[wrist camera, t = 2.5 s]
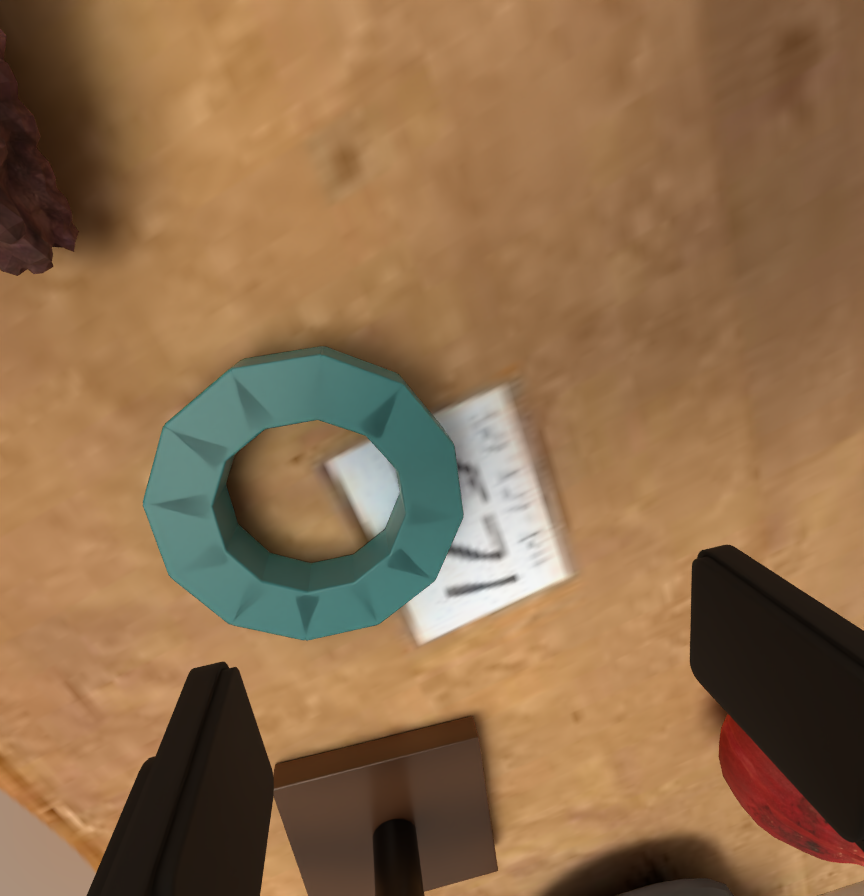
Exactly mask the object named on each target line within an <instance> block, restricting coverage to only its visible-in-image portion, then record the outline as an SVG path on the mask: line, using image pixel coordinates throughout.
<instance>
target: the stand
mask: <svg viewBox="0 0 864 896" xmlns="http://www.w3.org/2000/svg"><path fill="white" fill-rule="evenodd" d="M273 778H274V795H273V796H274V798H275V801H276V804H277V807H278V810H279V813H280V816H281V819H282V821H283V824H284V827H285V830H286V833H287V836H288V839H289V842H290V844H291V847H292V850H293V853H294V856H295V859H296V862H297V865H298V867H299V870H300V873H301V876H302V879H303V882H304V885H305V888H306V890H307V893H308V896H424V892H425V891H429V890H432V889H436V888H439V887H443V886H446V885H450V884H453V883H457V882H460V881H464V880H468V879H471V878H475V877H478V876H482V875H485V874H489V873H492V872H496V871H498V866H497V859H496V852H495V845H494V839H493V832H492V825H491V818H490V811H489V804H488V797H487V790H486V783H485V777H484V770H483V763H482V756H481V749H480V742H479V736H478V733H477V729H476V726H475V722H474V719H473V717H472V716H471V717H467V718H462V719H458V720H454V721H450V722H446V723H442V724H438V725H434V726H430V727H426V728H422V729H418V730H414V731H410V732H406V733H402V734H398V735H394V736H390V737H386V738H382V739H378V740H373V741H369V742H365V743H361V744H357V745H353V746H349V747H345V748H341V749H337V750H333V751H329V752H325V753H321V754H317V755H313V756H309V757H305V758H301V759H297V760H293V761H288V762H284V763H280V764H276V765H275V769H274V776H273Z"/></svg>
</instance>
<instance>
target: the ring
mask: <svg viewBox="0 0 864 896" xmlns="http://www.w3.org/2000/svg"><path fill="white" fill-rule="evenodd" d="M314 420H320V421H323V422H326V423H329V424H332V425H335V426H338V427H341V428H344V429H347V430H350V431H353V432H356V433H359V434H362V435H365V436H367V437H368V439H369V440H370V441H371V442H372V443H373V444H374V445H375V446H376V447H377V449H378V450H379V451H380V452H381V453H382V454H383V455H384V456H385V457H386V458H387V460H388V461H389V462H390V463H391V464H392V465H393V466H394V467H395V468H396V473H397V479H398V484H399V490H400V494H399V496H398V499H397V501H396V504H395V506H394V508H393V511H392V513H391V516H390V518H389V521H388V523H387V526H386V528H385V530H384V531H382V532H381V533H380V534H379V535H377V536H376V537H375V538H374V539H372V540H371V541H370V542H368V543H367V544H366V545H365V546H363V547H362V548H361V549H360V550H358V551H357V552H356V553H355V554H353V555H348V556H344V557H339V558H334V559H329V560H324V561H319V562H315V563H308V562H304V561H301V560H297V559H293V558H289V557H285V556H281V555H277V554H273V553H270V552H269V551H268V550H266V549H265V548H264V547H263V546H262V545H261V544H260V543H259V542H258V541H256V540H255V539H254V538H253V537H252V536H251V535H250V534H249V533H247V532H246V531H245V530H244V529H243V528H242V527H241V526H240V525H239V524H238V522H237V519H236V515H235V512H234V509H233V506H232V502H231V499H230V496H229V492H228V489H227V486H226V482H227V479H228V476H229V472H230V469H231V466H232V463H233V459H234V456H235V454H236V453H237V452H238V451H240V450H241V449H242V448H243V447H244V446H246V445H247V444H248V443H249V442H250V441H252V440H253V439H254V438H255V437H256V436H258V435H259V434H260V433H261V432H262V431H264V430H265V429H268V428H274V427H280V426H285V425H291V424H297V423H302V422H308V421H314ZM143 507H144V510H145V512H146V515H147V518H148V520H149V523H150V526H151V529H152V531H153V534H154V537H155V539H156V542H157V545H158V548H159V550H160V553H161V556H162V558H163V561H164V564H165V566H166V569H167V572H168V575H169V576H170V577H171V578H172V579H173V580H174V581H175V582H177V583H178V584H179V585H180V586H182V587H183V588H184V589H185V590H187V591H188V592H189V593H190V594H192V595H193V596H194V597H196V598H197V599H198V600H199V601H201V602H202V603H203V604H204V605H206V606H207V607H208V608H209V609H211V610H212V611H213V612H214V613H216V614H217V615H218V616H219V617H221V618H222V619H223V620H224V621H226V622H227V623H228V624H231V625H234V626H239V627H243V628H248V629H253V630H257V631H262V632H267V633H271V634H276V635H281V636H286V637H290V638H295V639H300V640H312V639H316V638H321V637H325V636H330V635H334V634H339V633H343V632H348V631H352V630H357V629H361V628H366V627H370V626H375V625H378V624H380V623H381V622H383V621H384V620H385V619H386V618H388V617H389V616H390V615H392V614H393V613H394V612H395V611H397V610H398V609H399V608H401V607H402V606H403V605H404V604H406V603H407V602H408V601H410V600H411V599H412V598H413V597H415V596H416V595H417V594H419V593H420V592H421V591H423V590H424V589H425V588H426V587H428V586H429V585H430V584H432V583H433V582H434V581H435V580H436V578H437V576H438V573H439V571H440V569H441V567H442V564H443V562H444V560H445V558H446V555H447V553H448V551H449V549H450V546H451V544H452V542H453V540H454V537H455V535H456V533H457V531H458V528H459V526H460V524H461V522H462V519H463V515H464V514H463V506H462V499H461V491H460V484H459V476H458V469H457V461H456V453H455V447H454V444H453V442H452V441H451V439H450V438H449V436H448V435H447V433H446V432H445V430H444V428H443V427H442V426H441V425H440V424H439V422H438V421H437V420H436V419H435V418H434V416H433V415H432V414H431V413H430V411H429V410H428V409H427V408H426V407H425V405H424V404H423V403H422V402H421V401H420V399H419V398H418V397H417V396H416V394H415V393H414V392H413V391H412V390H411V388H410V387H409V386H408V385H407V384H406V382H405V381H404V380H403V379H402V378H401V376H400V375H399V374H397V373H395V372H393V371H390V370H387V369H385V368H382V367H379V366H377V365H374V364H371V363H368V362H366V361H363V360H360V359H358V358H355V357H352V356H350V355H347V354H344V353H342V352H339V351H336V350H333V349H331V348H328V347H324V346H319V347H313V348H307V349H301V350H294V351H288V352H282V353H276V354H270V355H263V356H257V357H251V358H245V359H243V360H240V361H239V362H238V363H237V364H235V365H234V366H233V367H231V368H230V369H229V370H228V371H226V372H225V373H224V374H223V375H222V376H220V377H219V378H218V379H217V380H216V381H215V382H213V383H212V384H211V385H210V386H209V387H208V388H206V389H205V390H204V391H203V392H202V393H201V394H199V395H198V396H197V397H196V398H195V399H194V400H192V401H191V402H190V403H189V404H188V405H186V406H185V407H184V408H183V409H182V410H181V411H179V412H178V413H177V414H176V415H175V416H174V417H172V418H171V419H170V420H169V421H168V422H167V423H165V425H164V426H163V428H162V432H161V436H160V440H159V443H158V447H157V451H156V455H155V458H154V462H153V466H152V470H151V473H150V477H149V481H148V485H147V488H146V492H145V496H144V500H143Z"/></svg>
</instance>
